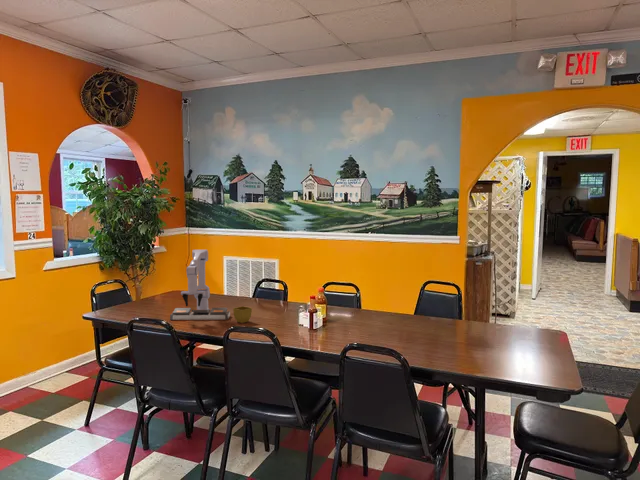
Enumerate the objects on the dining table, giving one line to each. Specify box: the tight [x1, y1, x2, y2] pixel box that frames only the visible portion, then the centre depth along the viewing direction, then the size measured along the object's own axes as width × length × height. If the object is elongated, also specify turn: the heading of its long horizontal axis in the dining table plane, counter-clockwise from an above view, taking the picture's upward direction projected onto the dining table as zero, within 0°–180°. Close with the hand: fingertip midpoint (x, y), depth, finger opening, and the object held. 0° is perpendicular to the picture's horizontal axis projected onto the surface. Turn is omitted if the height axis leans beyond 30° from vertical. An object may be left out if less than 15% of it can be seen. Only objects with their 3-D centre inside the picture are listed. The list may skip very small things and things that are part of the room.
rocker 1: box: [191, 309, 210, 313], centre depth 295 cm, size 7×10×2 cm
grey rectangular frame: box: [172, 307, 192, 314], centre depth 295 cm, size 7×10×2 cm
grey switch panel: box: [169, 310, 231, 321], centre depth 295 cm, size 9×37×3 cm, turn 92°
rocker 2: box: [209, 307, 228, 314], centre depth 295 cm, size 7×10×2 cm
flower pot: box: [232, 305, 253, 324], centre depth 285 cm, size 9×9×9 cm
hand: (193, 305), depth 286 cm, fingers open, 7 cm apart
